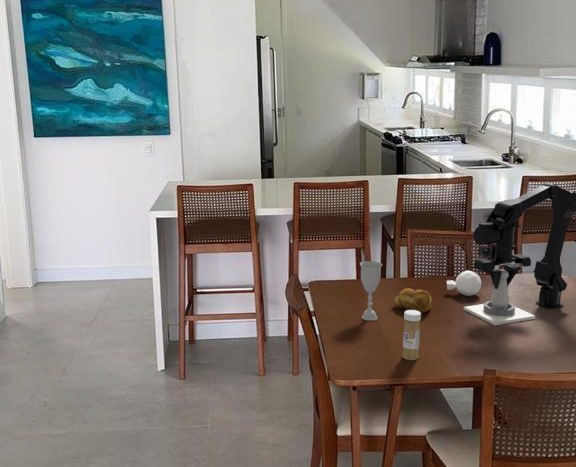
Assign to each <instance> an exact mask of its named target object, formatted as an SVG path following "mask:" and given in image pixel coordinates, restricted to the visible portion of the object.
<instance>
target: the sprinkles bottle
mask: <svg viewBox="0 0 576 467" xmlns="http://www.w3.org/2000/svg"><path fill="white" fill-rule="evenodd" d="M403 319H404V325H403V336H402V337H403V338H402V341H403V342H402V358H403V359H405V360H407V361H416V360H418V359H419V358H420V356H419V347H420V332H421V330H420V326H421V319H422V313H420V312H419V311H416V310H405V311H404V313H403Z"/></svg>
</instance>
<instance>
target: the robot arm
mask: <svg viewBox="0 0 576 467" xmlns="http://www.w3.org/2000/svg"><path fill="white" fill-rule="evenodd" d="M548 199H549V200H551V206H550V207H551V210H552V214H553V217H552V222H551V226H550V231H549V233H548V235H549V236H548V239H547V243H546V247H545V252H544V256H543V258H542V259H541V260H540V261H539V260H536V262H535V268H534V269H533V273H534V275H533V276H534V278H535V282H536V285H537V286H540V291H539V294H538V295H539V296H538V300H537V301H535V303H536V304H538V305H540V306H541V307H544V308H547V309H554V308H561V307H564V304H563V303H561V299H562V298H561V296H562V292H564V291H566V289H567V286H568V283H567V282H566V280H565V279H564V278H563V277H562V274H563V266H562V264H561V256H562V251H563V247H564V243H565V238H566V235H567V230H568V227H569V222H570V219H571V218H572V217H573V215H575V213H576V191H573V190H568V189H567V190H566V189H565V188H562V187H561V186H559V185H557V184H555V183H550V182H544V183H541V185H540V186H538V187H536V188H534V189H532V190H529V191H527V192H526V193H524V194H522V195H521V196H519V197H516V198H513V199H505V200H502V201H498V202H497V203H495V204H494V208H493V209H492V211H491V212H490V214H489V215H488V217H487V219H486V220H485V222H484V223H483V222H480V223H478V227H476V228H475V230H474V232H473V234H472V235H473V240H474V242H475V244H477V245H478V248H477V249H478V250H477V253H478V256H479V257H482V258H478V259H475V260H474V261H473V268H474V269H476V270H479V271H481V272H483V273H489V275H490V278H491V281H492V284H493V285H492V286H493V289H494V288H495V289H497V288H498V286H499V282H500V277H501V273H502V271H501V270H502V269H500V267H501V266H503V270H506V271H508V273H509V277H508V278H506V279H507V288H508V287H509V285H510V284H511V282H512V280H514V277H515V276H516V275H517V273H518V272H519V271H520V270H522V267H527V268H528V267H531V266H532V260H531V257H530V256H528V255H525V254H522V253H518V254H513V252H514V250H516V247H517V246H516V245H514V241H515V240H514V239H515V237H514V236H515V229H517V228H520V227H521V225H520V223H518V222H517V220H519V219H520V218H521V217H523V215H524V213H525V212H526V211H527V210H529V209H531V208H533V207H535V206H538V204H541V203H542V202H544V201H546V200H548ZM486 245H490V247H487V246H486ZM487 258H489V259H487ZM519 264H521V266H522V267H520V266H519Z"/></svg>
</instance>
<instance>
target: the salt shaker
mask: <svg viewBox="0 0 576 467" xmlns="http://www.w3.org/2000/svg"><path fill="white" fill-rule="evenodd" d="M500 270H501V271H502V273H501V277H500V282H499V286H498V288H497V289H495V288H494V287H493V291H492V295H491V298H490V301H491V304H492V307H493V308H495V309H507V307H508V305H509V303H510V296H509V288H508V287H507V279H506V278H508V277H509V273H508V271H506V270H504V269H500Z"/></svg>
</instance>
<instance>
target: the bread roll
mask: <svg viewBox="0 0 576 467" xmlns="http://www.w3.org/2000/svg"><path fill="white" fill-rule="evenodd" d="M432 301H433V299H432V297H431V295H430V292H428V291H427V290H423V289H416V290H414V289H412V288H408V287H407V288H404V289H402V290H401V291H400V292H399V295H398V296H396V297H394V299H393V305H394V306H395V308H398V309H401V310H405V311H407V310H416V311H419V312H420V313H421V314H423V313H426V312H428V311H429V310H430V309H431V308H432Z"/></svg>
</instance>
